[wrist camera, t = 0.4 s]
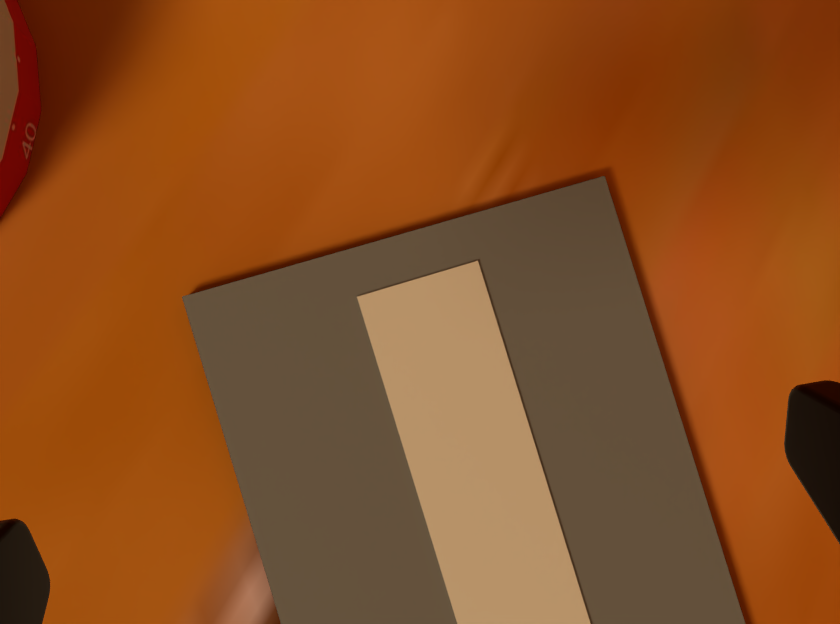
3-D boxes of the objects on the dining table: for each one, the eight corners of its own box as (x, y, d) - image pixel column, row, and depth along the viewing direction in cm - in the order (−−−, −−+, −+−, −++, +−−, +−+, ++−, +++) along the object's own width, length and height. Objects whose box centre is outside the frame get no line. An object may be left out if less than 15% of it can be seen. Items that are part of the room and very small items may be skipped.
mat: (778, 751, 23) (790, 761, 23) (376, 931, 21) (379, 947, 20) (598, 179, 24) (605, 174, 23) (185, 298, 21) (181, 296, 21)
